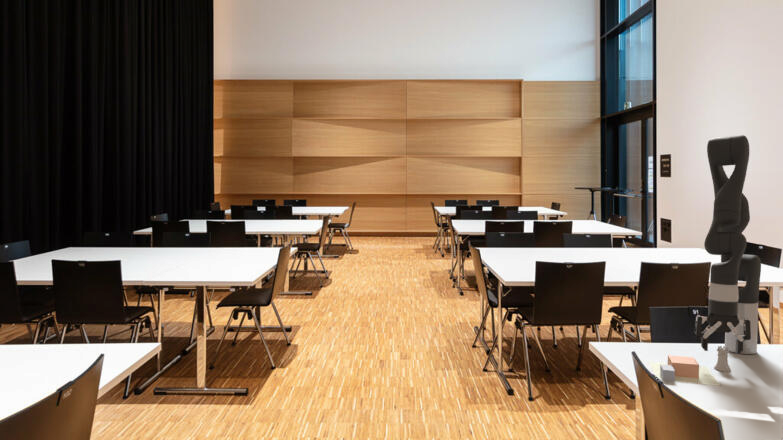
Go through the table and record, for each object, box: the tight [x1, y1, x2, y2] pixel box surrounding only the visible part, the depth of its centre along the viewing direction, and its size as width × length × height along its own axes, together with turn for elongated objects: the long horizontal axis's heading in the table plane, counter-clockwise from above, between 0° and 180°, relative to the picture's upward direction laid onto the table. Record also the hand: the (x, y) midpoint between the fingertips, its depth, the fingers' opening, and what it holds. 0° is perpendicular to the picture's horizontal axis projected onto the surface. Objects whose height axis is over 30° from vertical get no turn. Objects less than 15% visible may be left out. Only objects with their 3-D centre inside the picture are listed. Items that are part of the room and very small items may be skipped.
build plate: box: [648, 362, 722, 387], centre depth 158 cm, size 16×16×1 cm
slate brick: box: [660, 364, 675, 382], centre depth 154 cm, size 5×3×3 cm, turn 162°
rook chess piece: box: [713, 345, 732, 373], centre depth 160 cm, size 4×4×8 cm
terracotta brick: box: [667, 354, 700, 378], centre depth 158 cm, size 7×7×4 cm
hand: (721, 351), depth 160 cm, fingers open, 8 cm apart
